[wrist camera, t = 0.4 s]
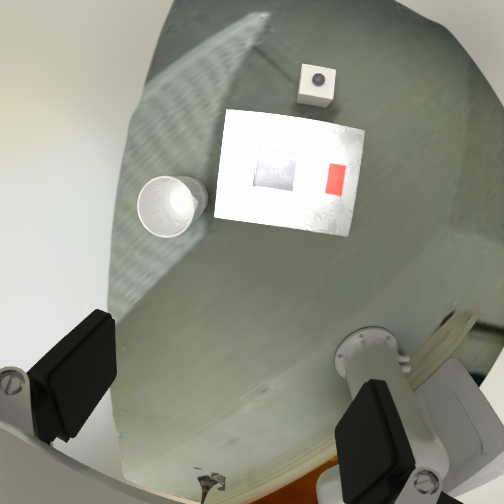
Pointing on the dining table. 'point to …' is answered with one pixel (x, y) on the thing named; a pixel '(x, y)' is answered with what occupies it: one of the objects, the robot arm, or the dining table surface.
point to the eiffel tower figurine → (210, 483)
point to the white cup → (171, 204)
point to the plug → (316, 85)
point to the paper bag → (463, 427)
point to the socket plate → (288, 172)
